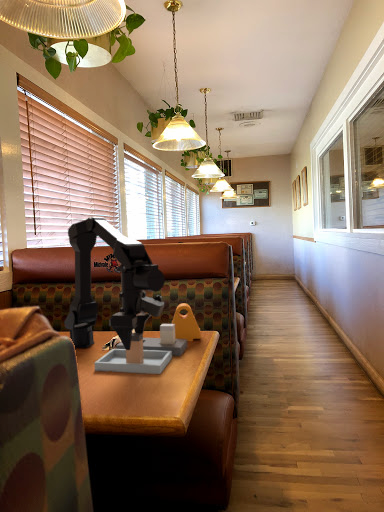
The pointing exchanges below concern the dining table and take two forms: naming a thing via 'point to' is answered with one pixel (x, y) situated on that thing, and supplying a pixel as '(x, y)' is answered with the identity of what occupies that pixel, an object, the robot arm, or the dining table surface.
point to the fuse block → (161, 345)
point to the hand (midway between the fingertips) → (134, 344)
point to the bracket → (185, 324)
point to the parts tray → (117, 363)
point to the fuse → (167, 334)
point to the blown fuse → (135, 349)
